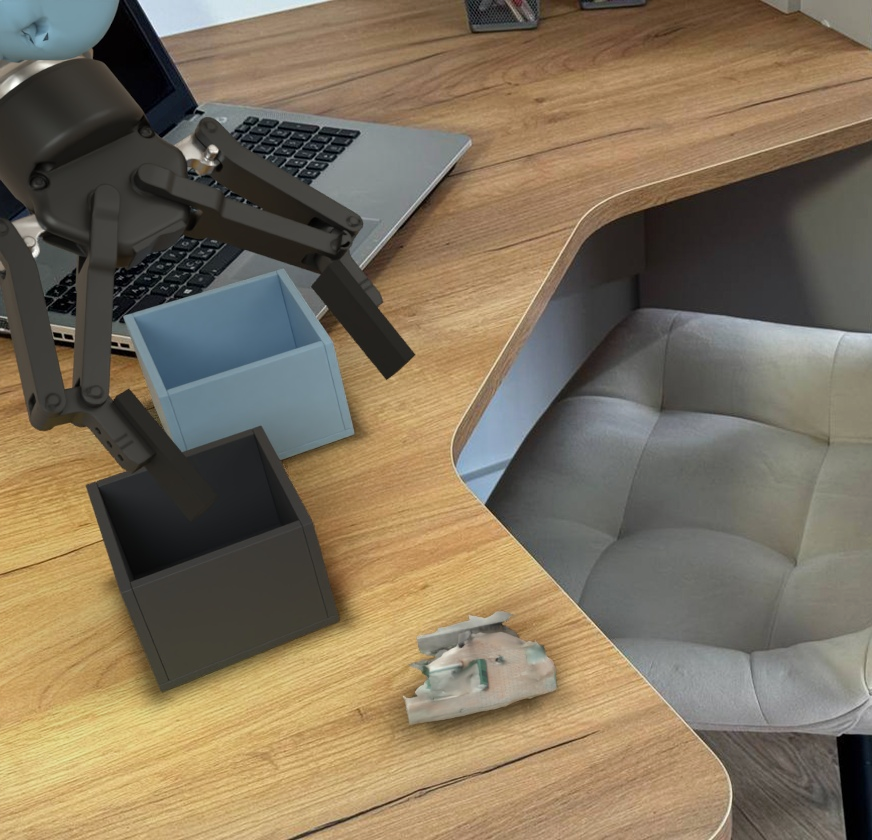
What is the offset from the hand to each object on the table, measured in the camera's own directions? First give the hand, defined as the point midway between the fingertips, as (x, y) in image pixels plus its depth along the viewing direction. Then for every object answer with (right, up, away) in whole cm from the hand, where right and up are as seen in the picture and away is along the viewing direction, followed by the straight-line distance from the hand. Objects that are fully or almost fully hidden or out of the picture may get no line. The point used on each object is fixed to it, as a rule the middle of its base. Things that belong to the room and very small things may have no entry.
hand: (309, 434), depth 67 cm
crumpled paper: (+8, -14, +4) cm, 16 cm away
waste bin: (-7, -10, +10) cm, 16 cm away
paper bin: (-10, +1, +24) cm, 26 cm away
